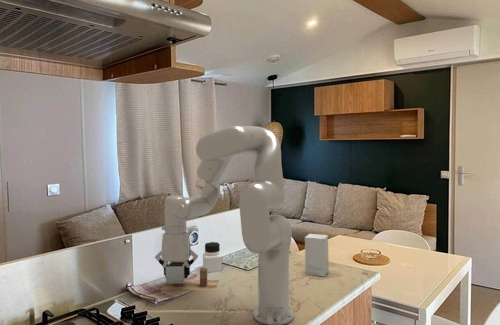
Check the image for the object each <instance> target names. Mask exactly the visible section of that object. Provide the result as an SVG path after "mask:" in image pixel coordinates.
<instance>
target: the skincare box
mask: <svg viewBox="0 0 500 325" xmlns="http://www.w3.org/2000/svg"><path fill="white" fill-rule="evenodd" d="M304 254H305V257H304V260H305V262H304V263H305V264H304V265H305V275H310V276H317V277H318V276H319V277H326V276H327V274H328V273H329V272H330V271H329V269H330V267H329V236H328V235H327V234H319V233H318V234H317V233H308V234H307V235H306V236H305V237H304Z"/></svg>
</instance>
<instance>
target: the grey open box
mask: <svg viewBox="0 0 500 325" xmlns="http://www.w3.org/2000/svg"><path fill="white" fill-rule="evenodd" d="M185 267H186V265H185V263H184V261H182V262H170V261H169V262H168V265H167V266H166V278H165V282H166V283H185V281H186V280H188V277H187V278H185Z"/></svg>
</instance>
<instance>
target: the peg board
mask: <svg viewBox="0 0 500 325" xmlns="http://www.w3.org/2000/svg"><path fill="white" fill-rule="evenodd" d="M219 281H220V280H215V279H212V280H211V279H208V272H207V268H203V267H202V268H200V269H199V279H198V280H197V279H195V280H194V279H186V281H185V283H166V281H165V282H164V284H163V285H162V287H161V288H160V290H159V292H160V291H161V292H162V291H167V292H168V291H171V292H174V291H175V292H177V291H179V292H181V291H182V292H184V291H185V292H215V291H217V287H218V285H219Z"/></svg>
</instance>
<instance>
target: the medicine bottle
mask: <svg viewBox="0 0 500 325" xmlns="http://www.w3.org/2000/svg"><path fill="white" fill-rule="evenodd" d="M220 246H221V245H220V243H219V242H217V241H208V242H206V243H204V252H203V253H202V268H207V273H213V272H215V273H216V272H222V271H223V255H222V254H221V252H220Z"/></svg>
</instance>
